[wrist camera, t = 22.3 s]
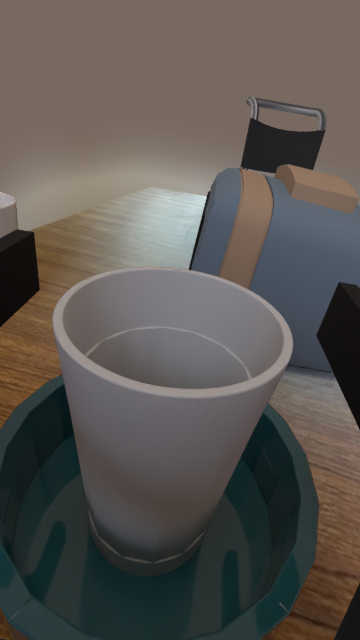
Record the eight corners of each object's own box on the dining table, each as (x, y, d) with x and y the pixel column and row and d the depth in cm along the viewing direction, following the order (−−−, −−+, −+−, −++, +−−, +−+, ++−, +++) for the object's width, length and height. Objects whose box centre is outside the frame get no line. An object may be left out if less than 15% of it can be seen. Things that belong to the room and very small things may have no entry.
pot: (-91, 681, 12) (-145, 632, 9) (67, 394, 24) (63, 338, 22) (317, 755, 12) (380, 725, 9) (265, 426, 24) (285, 373, 21)
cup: (66, 620, 13) (37, 411, 7) (73, 450, 20) (60, 263, 14) (247, 576, 15) (346, 385, 9) (199, 436, 22) (239, 268, 16)
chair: (277, 241, 64) (316, 108, 53) (336, 281, 50) (405, 112, 39) (216, 240, 60) (243, 95, 49) (261, 282, 47) (314, 94, 35)
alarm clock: (189, 280, 44) (209, 146, 36) (312, 301, 43) (362, 169, 35) (172, 354, 30) (199, 161, 22) (353, 385, 29) (453, 200, 21)
